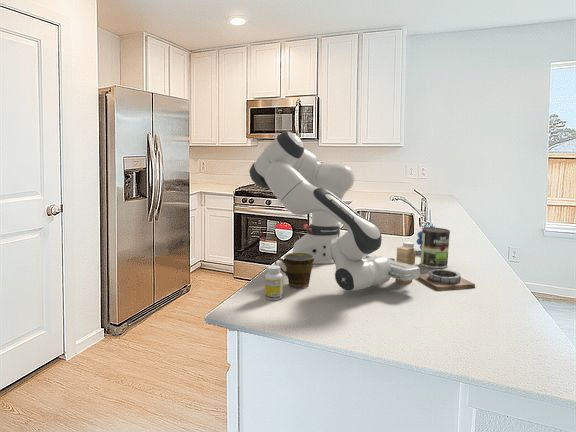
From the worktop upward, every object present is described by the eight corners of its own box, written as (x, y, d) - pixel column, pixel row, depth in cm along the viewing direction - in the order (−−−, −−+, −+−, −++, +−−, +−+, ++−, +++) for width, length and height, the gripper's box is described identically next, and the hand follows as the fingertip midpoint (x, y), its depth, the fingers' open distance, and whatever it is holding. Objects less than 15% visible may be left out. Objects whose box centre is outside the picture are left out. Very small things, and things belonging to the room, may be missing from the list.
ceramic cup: (312, 280, 152) (312, 252, 150) (315, 290, 142) (315, 260, 141) (274, 280, 152) (274, 252, 150) (274, 290, 142) (274, 260, 140)
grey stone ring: (439, 284, 145) (439, 278, 144) (422, 275, 154) (423, 270, 154) (466, 282, 147) (466, 276, 147) (448, 274, 157) (449, 268, 156)
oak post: (405, 284, 149) (406, 249, 147) (395, 281, 152) (397, 247, 150) (412, 281, 152) (413, 248, 150) (402, 279, 155) (404, 245, 153)
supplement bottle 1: (273, 293, 139) (273, 263, 137) (286, 297, 136) (286, 266, 134) (261, 298, 135) (261, 267, 133) (274, 302, 132) (274, 270, 130)
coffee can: (453, 267, 170) (455, 231, 167) (429, 269, 167) (432, 232, 165) (437, 260, 179) (439, 226, 177) (415, 262, 177) (417, 227, 174)
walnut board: (437, 290, 143) (437, 287, 142) (415, 277, 156) (415, 274, 156) (474, 287, 146) (475, 284, 146) (450, 275, 159) (450, 272, 159)
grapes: (445, 252, 193) (447, 225, 191) (437, 255, 188) (439, 227, 186) (421, 248, 201) (422, 222, 199) (413, 250, 196) (414, 224, 195)
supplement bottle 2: (417, 267, 169) (418, 242, 168) (409, 270, 166) (411, 245, 164) (404, 264, 173) (406, 240, 172) (397, 267, 170) (398, 242, 168)
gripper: (404, 268, 134) (431, 260, 142) (355, 254, 149) (381, 248, 158) (403, 288, 135) (430, 279, 143) (354, 272, 150) (380, 265, 159)
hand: (404, 263), depth 151 cm, fingers open, 8 cm apart
